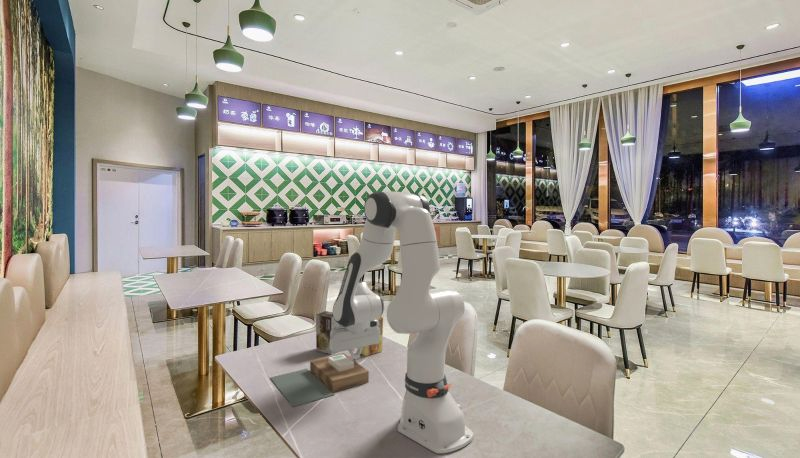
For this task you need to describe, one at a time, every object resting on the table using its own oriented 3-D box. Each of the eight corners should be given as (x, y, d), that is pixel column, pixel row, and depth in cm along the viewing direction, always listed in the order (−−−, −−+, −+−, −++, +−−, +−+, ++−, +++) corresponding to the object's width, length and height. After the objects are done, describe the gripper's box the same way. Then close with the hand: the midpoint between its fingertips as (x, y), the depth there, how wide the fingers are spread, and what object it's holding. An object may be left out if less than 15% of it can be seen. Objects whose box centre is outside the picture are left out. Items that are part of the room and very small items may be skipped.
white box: (353, 367, 143) (354, 362, 143) (339, 371, 140) (339, 366, 140) (342, 359, 151) (342, 354, 151) (328, 362, 147) (328, 357, 147)
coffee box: (341, 350, 170) (341, 313, 169) (331, 355, 165) (331, 317, 164) (325, 345, 175) (325, 310, 174) (315, 350, 170) (315, 313, 169)
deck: (368, 381, 141) (368, 371, 141) (332, 392, 133) (332, 380, 133) (343, 362, 157) (343, 353, 157) (310, 370, 149) (310, 360, 149)
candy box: (377, 348, 173) (377, 314, 172) (382, 351, 170) (383, 316, 168) (360, 353, 167) (360, 318, 166) (365, 356, 164) (366, 320, 163)
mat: (334, 395, 131) (334, 394, 131) (293, 407, 123) (293, 406, 123) (306, 369, 151) (306, 368, 151) (270, 378, 143) (270, 377, 143)
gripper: (333, 330, 139) (333, 368, 140) (382, 320, 151) (382, 355, 152) (326, 325, 144) (326, 361, 145) (374, 316, 156) (373, 350, 157)
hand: (355, 358), depth 149 cm, fingers closed
